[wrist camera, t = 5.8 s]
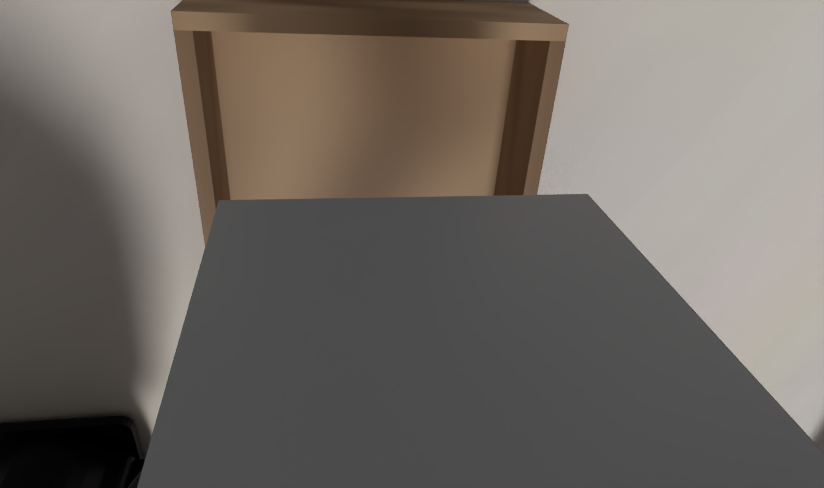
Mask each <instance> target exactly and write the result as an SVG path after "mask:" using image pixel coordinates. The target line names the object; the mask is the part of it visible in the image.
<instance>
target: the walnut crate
mask: <svg viewBox="0 0 824 488" xmlns="http://www.w3.org/2000/svg"><path fill="white" fill-rule="evenodd" d="M171 16H172V22H173V29H174V36H175V43H176V50H177V57H178V63H179V70H180V77H181V84H182V91H183V98H184V104H185V111H186V118H187V125H188V132H189V138H190V145H191V152H192V159H193V166H194V173H195V179H196V186H197V193H198V200H199V207H200V213H201V220H202V227H203V234H204V241H205V247H206V243H207V240H208V236H209V233H210V229H211V226H212V222H213V219H214V215H215V212H216V208H217V204H218V201H219V200H258V199H319V198H380V197H441V196H502V195H537V191H538V186H539V180H540V175H541V170H542V164H543V159H544V154H545V148H546V143H547V138H548V133H549V127H550V122H551V117H552V111H553V106H554V101H555V95H556V90H557V85H558V79H559V74H560V69H561V64H562V58H563V53H564V48H565V42H566V37H567V32H568V26H569V24H567V23H565V22H564V21H562V20H560V19H558V18H556V17H554V16H552V15H550V14H549V13H547V12H545V11H543V10H541V9H539V8H537V7H536V6H534V5H532V4H530V3H510V2H485V1H459V0H182V1H181V2H180V3H179V4H178V5H177V6H176V7H175V8H174V9H172V10H171Z"/></svg>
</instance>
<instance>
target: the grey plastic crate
mask: <svg viewBox="0 0 824 488" xmlns="http://www.w3.org/2000/svg"><path fill="white" fill-rule="evenodd" d="M137 488H824V453H823V452H822V451H821V449H820V448H819V447H818V446H817V445H816V444H815V443H814V442H813V441H812V440H811V438H810V437H809V436H808V435H807V434H806V433H805V432H804V431H803V430H802V429H801V427H800V426H799V425H798V424H797V423H796V422H795V421H794V420H793V419H792V418H791V417H790V415H789V414H788V413H787V412H786V411H785V410H784V409H783V408H782V407H781V406H780V404H779V403H778V402H777V401H776V400H775V399H774V398H773V397H772V396H771V395H770V394H769V392H768V391H767V390H766V389H765V388H764V387H763V386H762V385H761V384H760V383H759V381H758V380H757V379H756V378H755V377H754V376H753V375H752V374H751V373H750V372H749V371H748V369H747V368H746V367H745V366H744V365H743V364H742V363H741V362H740V361H739V360H738V358H737V357H736V356H735V355H734V354H733V353H732V352H731V351H730V350H729V349H728V347H727V346H726V345H725V344H724V343H723V342H722V341H721V340H720V339H719V338H718V337H717V335H716V334H715V333H714V332H713V331H712V330H711V329H710V328H709V327H708V326H707V324H706V323H705V322H704V321H703V320H702V319H701V318H700V317H699V316H698V315H697V314H696V312H695V311H694V310H693V309H692V308H691V307H690V306H689V305H688V304H687V303H686V301H685V300H684V299H683V298H682V297H681V296H680V295H679V294H678V293H677V292H676V290H675V289H674V288H673V287H672V286H671V285H670V284H669V283H668V282H667V281H666V280H665V278H664V277H663V276H662V275H661V274H660V273H659V272H658V271H657V270H656V269H655V267H654V266H653V265H652V264H651V263H650V262H649V261H648V260H647V259H646V258H645V257H644V255H643V254H642V253H641V252H640V251H639V250H638V249H637V248H636V247H635V246H634V244H633V243H632V242H631V241H630V240H629V239H628V238H627V237H626V236H625V235H624V234H623V232H622V231H621V230H620V229H619V228H618V227H617V226H616V225H615V224H614V223H613V221H612V220H611V219H610V218H609V217H608V216H607V215H606V214H605V213H604V212H603V210H602V209H601V208H600V207H599V206H598V205H597V204H596V203H595V202H594V201H593V200H592V198H591V197H590V196H589V195H588V194H563V195H502V196H441V197H380V198H319V199H258V200H219V201H218V204H217V208H216V212H215V215H214V219H213V222H212V226H211V229H210V233H209V236H208V240H207V243H206V247H205V250H204V254H203V257H202V261H201V264H200V268H199V271H198V275H197V278H196V282H195V286H194V289H193V293H192V296H191V300H190V303H189V307H188V310H187V314H186V317H185V321H184V324H183V328H182V331H181V335H180V338H179V342H178V345H177V349H176V352H175V356H174V360H173V363H172V367H171V370H170V374H169V377H168V381H167V384H166V388H165V391H164V395H163V398H162V402H161V405H160V409H159V412H158V416H157V419H156V423H155V427H154V430H153V434H152V437H151V441H150V444H149V448H148V451H147V455H146V458H145V462H144V465H143V469H142V472H141V476H140V479H139V483H138V486H137Z"/></svg>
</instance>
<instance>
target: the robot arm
mask: <svg viewBox="0 0 824 488" xmlns="http://www.w3.org/2000/svg"><path fill="white" fill-rule="evenodd" d="M118 428H119V429H118ZM144 462H145V458H144V455H143V451H142V447H141V443H140V440H139V436H138V432H137V429H136V425H135V423H134V421H133V420H132V419H131V418H129V417H126V416H108V417H93V418H79V419H65V420H50V421H36V422H22V423H8V424H0V488H137V486H138V483H139V479H140V476H141V472H142V469H143V465H144Z"/></svg>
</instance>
